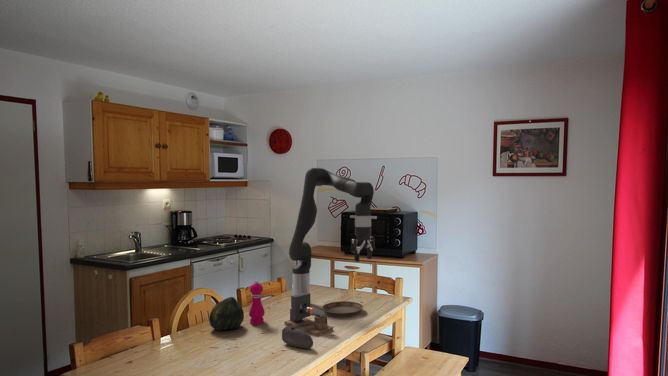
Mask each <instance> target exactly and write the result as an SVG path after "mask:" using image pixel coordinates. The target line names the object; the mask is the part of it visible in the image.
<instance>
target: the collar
mask: <svg viewBox="0 0 668 376" xmlns="http://www.w3.org/2000/svg"><path fill="white" fill-rule="evenodd" d="M290 304H291V305H290V307H291V308H290V309H291V319H293V320H299V319H302V318H308V317H311V316H312V315H310V314H308V313H305V312H302V311H300V305H301V304H302V305H305V306H309V307H312V306H311V304H312V303H311V292H310V293H302V294H297V295H293V296H292V295H291V296H290Z"/></svg>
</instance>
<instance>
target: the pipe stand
mask: <svg viewBox="0 0 668 376" xmlns="http://www.w3.org/2000/svg"><path fill="white" fill-rule="evenodd" d="M313 318H314V320H312V319H309V318H308V317H306V318H302V319H299V320H293V319H291V308H289V320H285V321H283V322H284V326H286V327H287V326H290V327H294V328H297V329H300V330H302V331H304V332H306V333H307V334H309V335H310V336H311V335H312V336H315V337H319V336H321V335H325V334H327V333H330V332H333V331H334V327H333V326H331V325H328V315H327V314H326V315H325V316H324V317H322V318H321V317H318V316H314V317H313Z"/></svg>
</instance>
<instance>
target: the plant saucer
mask: <svg viewBox="0 0 668 376" xmlns="http://www.w3.org/2000/svg"><path fill="white" fill-rule="evenodd" d="M321 309H322V311H325V313H326V315H327V316H329V317H332V318H343V319H344V318H350V317H351V318H352V317H354V316H355V317H356V316H357V315H359V313H361V311H362V310H363V309H364V305H363V304H361V303H359V302H356V301H350V300H349V301H348V300H347V301H346V300H344V301H343V300H342V301H332V302H328V303H326V304H323V305H322V307H321Z"/></svg>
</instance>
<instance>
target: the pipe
mask: <svg viewBox="0 0 668 376" xmlns="http://www.w3.org/2000/svg"><path fill="white" fill-rule="evenodd" d="M300 311H302V312H305V313H308V314H310V315H311V316H314V317H315V316H318V317H321V318H322V317H324V316H325V315H327V314H326V313H325V311H323V310H321V309H318V308H316V307H313V306H311V307H309V306H305V305H302V304H301V305H300Z"/></svg>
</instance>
